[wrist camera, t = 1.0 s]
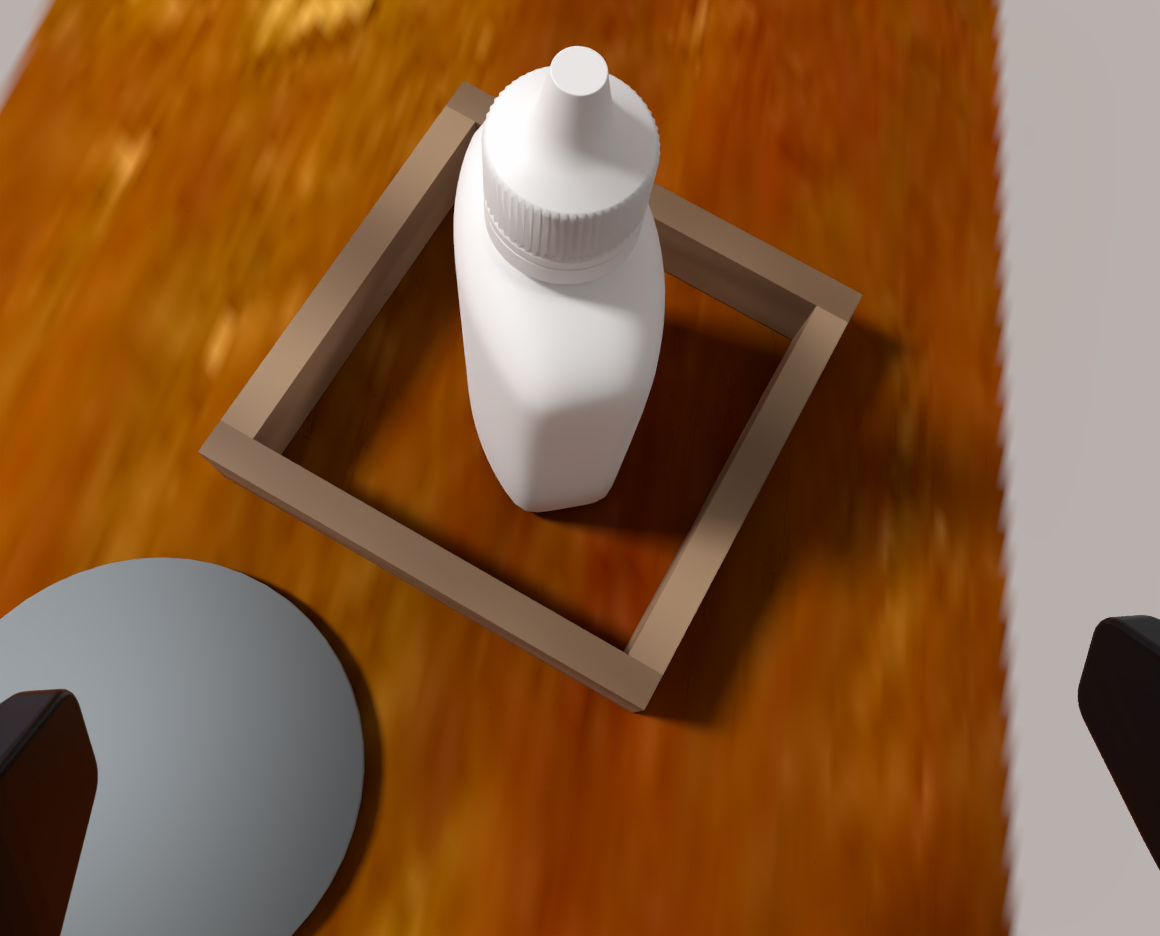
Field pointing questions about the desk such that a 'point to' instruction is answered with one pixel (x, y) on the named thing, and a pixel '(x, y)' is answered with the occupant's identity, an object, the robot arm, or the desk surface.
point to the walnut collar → (254, 461)
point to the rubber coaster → (196, 746)
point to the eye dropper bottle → (560, 279)
